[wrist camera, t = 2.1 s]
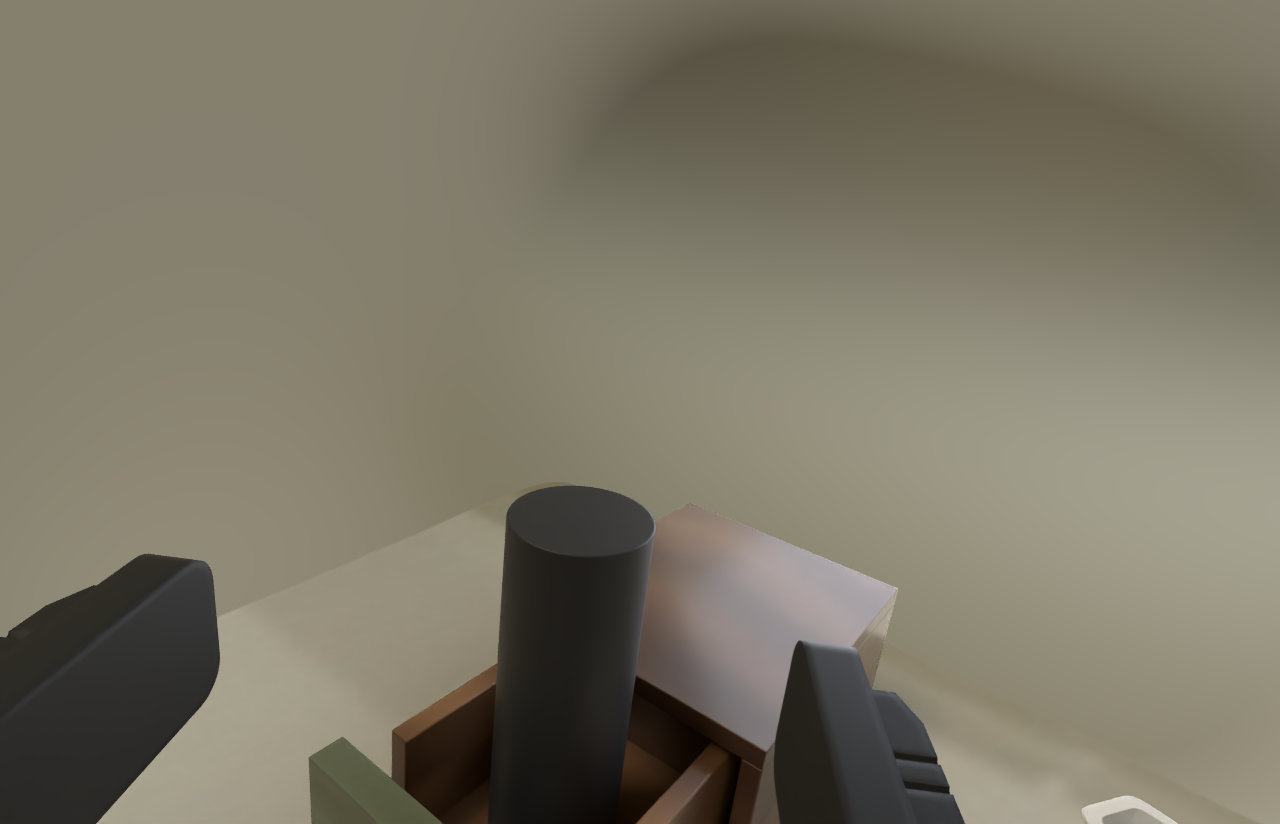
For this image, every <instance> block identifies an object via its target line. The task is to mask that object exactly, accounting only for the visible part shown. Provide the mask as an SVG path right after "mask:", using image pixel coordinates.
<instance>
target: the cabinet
mask: <svg viewBox="0 0 1280 824" xmlns="http://www.w3.org/2000/svg"><path fill="white" fill-rule="evenodd" d="M655 527H656V530H655V537H654V544H653V552H652V559H651V566H650V574H649V581H648V588H647V596H646V603H645V610H644V618H643V625H642V632H641V640H640V647H639V654H638V662H637V669H636V676H635V684H634V691H633V693H634V694H636V695H637V696H639V697H641V698H642V699H644V700H646V701H647V702H649V703H651V704H652V705H654V706H656V707H657V708H659V709H661V710H662V711H664V712H666V713H667V714H669V715H671V716H672V717H674V718H676V719H677V720H679V721H681V722H682V723H684V724H686V725H687V726H689V727H691V728H692V729H694V730H696V731H697V732H699V733H700V734H702V735H704V736H705V737H707V738H709V739H710V740H712V741H714V742H715V743H717V744H719V745H720V746H722V747H724V748H725V749H727V750H729V751H730V752H732V753H734V754H735V755H737V756H739V757H740V758H742V761H741V765H740V770H739V775H738V780H737V785H736V790H735V795H734V800H733V805H732V810H731V815H730V820H729V824H780V820H779V812H778V805H777V798H776V791H775V782H774V748H775V739H776V732H777V727H778V722H779V718H780V713H781V708H782V703H783V699H784V694H785V689H786V684H787V679H788V675H789V670H790V665H791V660H792V656H793V652H794V648H795V646H796V644H797V642H798V641H799V640H800V641H808V642H816V643H824V644H831V645H839V646H847V647H854V648H856V649H857V651H858V653H859V655H860V658H861V661H862V664H863V667H864V670H865V673H866V676H867V678H868V681H869V684H870V687H871V690H872V686H873V682H874V678H875V675H876V671H877V667H878V663H879V659H880V656H881V652H882V648H883V644H884V641H885V637H886V633H887V629H888V626H889V622H890V618H891V614H892V610H893V607H894V603H895V599H896V596H897V592H898V588H895V587H893V586H891V585H888V584H886V583H883V582H881V581H878V580H876V579H874V578H871V577H869V576H866V575H864V574H861V573H859V572H857V571H854V570H852V569H849V568H847V567H845V566H842V565H840V564H837V563H835V562H832V561H830V560H828V559H825V558H822V557H820V556H818V555H815V554H813V553H811V552H808V551H806V550H803V549H801V548H798V547H796V546H794V545H791V544H789V543H786V542H784V541H781V540H779V539H777V538H774V537H772V536H770V535H767V534H765V533H762V532H760V531H757V530H755V529H753V528H750V527H748V526H745V525H743V524H740V523H738V522H735V521H733V520H731V519H728V518H726V517H724V516H721V515H718V514H716V513H714V512H711V511H709V510H706V509H704V508H702V507H699V506H697V505H694V504H692V503H689V504H687V505H685V506H684V507H682V508H680V509H678V510H676V511H675V512H673V513H671V514H669V515H668V516H666V517H664V518H662V519H660V520H659V521H657V522H655Z"/></svg>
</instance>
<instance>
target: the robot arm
mask: <svg viewBox="0 0 1280 824" xmlns="http://www.w3.org/2000/svg"><path fill="white" fill-rule="evenodd" d="M219 663H220V651H219V640H218V628H217V617H216V606H215V595H214V584H213V575H212V571H211V569H210V567H209V566H208V564H207V563H206V562H204V561H199V560H192V559H184V558H177V557H169V556H161V555H154V554H143V555H140V556H138V557H137V558H135V559H133V560H132V561H131V562H129V563H128V564H126V565H125V566H123V567H122V568H121V569H120V570H118V571H117V572H115V573H114V574H113V575H111V576H110V577H108V578H107V579H105V580H104V581H102V582H101V583H100V584H98V585H97V586H94V585H93V586H91V587H89V588H86V589H84V590H82V591H79V592H77V593H75V594H72V595H70V596H68V597H65V598H63V599H60V600H58V601H56V602H54V603H51V604H49V605H46V606H45V607H43V608H42V609H41V610H39V611H38V612H36V613H35V614H33V615H32V616H31V617H29V618H28V619H26V620H25V621H23V622H22V623H20V624H19V625H18V626H16V627H15V628H13V629H12V630H10V631H9V633H8V636H7V637H6V638H4V637H0V824H96V823H97V822H98V821H99V820H100V819H101V817H102V816H103V815H104V814H105V813H106V812H107V811H108V810H109V809H110V807H111V806H112V805H113V804H114V803H115V802H116V801H117V800H118V798H119V797H120V796H121V795H122V794H123V793H124V792H125V791H126V790H127V788H128V787H129V786H130V785H131V784H132V783H133V782H134V781H135V780H136V778H137V777H138V776H139V775H140V774H141V773H142V772H143V771H144V769H145V768H146V767H147V766H148V765H149V764H150V763H151V762H152V761H153V759H154V758H155V757H156V756H157V755H158V754H159V753H160V752H161V750H162V749H163V748H164V747H165V746H166V745H167V744H168V743H169V742H170V740H171V739H172V738H173V737H174V736H175V735H176V734H177V733H178V731H179V730H180V729H181V728H182V727H183V726H184V725H185V724H186V723H187V721H188V720H189V719H190V718H191V717H192V716H193V715H194V714H195V712H196V711H197V710H198V709H199V708H200V707H201V706H202V704H203V703H204V702H205V700H206V699H207V697H208V696H209V694H210V692H211V690H212V688H213V686H214V683H215V680H216V677H217V674H218V669H219ZM774 782H775V791H776V798H777V805H778V812H779V820H780V824H965V823H964V820H963V818H962V816H961V813H960V811H959V808H958V806H957V804H956V801H955V799H954V796H953V795H950V792H949V788H950V787H949V784H948V782H947V779H946V777H945V775H944V772H943V770H942V767H941V765H938V764H937V755H936V753H935V751H934V748H933V746H932V743H931V741H930V739H929V736H928V734H927V731H926V729H925V727H924V724H923V723H922V722H921V721H920V720H919V718H918V717H917V716H916V715H915V714H914V713H913V712H912V711H911V710H910V709H909V707H908V706H907V705H906V704H905V703H904V702H903V701H902V700H901V699H900V698H899V696H898V695H897V694H896V693H893V692H886V691H878V690H871V687H870V684H869V681H868V678H867V676H866V673H865V670H864V667H863V664H862V661H861V658H860V655H859V653H858V651H857V649H856V648H854V647H847V646H839V645H831V644H824V643H816V642H808V641H800V640H799V641H798V642H797V644H796V646H795V648H794V652H793V656H792V660H791V665H790V670H789V675H788V679H787V684H786V689H785V694H784V699H783V703H782V708H781V713H780V718H779V722H778V727H777V732H776V739H775V748H774Z"/></svg>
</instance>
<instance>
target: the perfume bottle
mask: <svg viewBox="0 0 1280 824" xmlns="http://www.w3.org/2000/svg"><path fill="white" fill-rule="evenodd" d="M1081 814H1082V817H1083V819H1084V821H1085V823H1086V824H1178V823H1177V822H1175V821H1173V820H1172V819H1170V818H1169V817H1167V816H1166V815H1164V814H1163V813H1161V812H1159V811H1158V810H1156V809H1155V808H1153V807H1152V806H1150V805H1149V804H1147V803H1145V802H1144V801H1142V800H1140V799H1138V798H1136V797H1132V796H1121V797H1118V798H1114V799H1110V800H1107V801H1103V802H1099V803H1096V804H1092V805H1088V806H1086V807H1085V808H1083V809H1082V813H1081Z"/></svg>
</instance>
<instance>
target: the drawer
mask: <svg viewBox="0 0 1280 824" xmlns="http://www.w3.org/2000/svg"><path fill="white" fill-rule="evenodd" d="M496 678H497V664H496V665H494V666H492V667H491V668H489V669H488V670H486V671H485V672H483V673H481V674H480V675H478V676H477V677H475V678H474V679H472V680H470V681H469V682H467V683H466V684H464V685H463V686H461V687H459V688H458V689H456V690H455V691H453V692H452V693H450V694H448V695H447V696H445V697H444V698H442V699H441V700H439V701H437V702H436V703H434V704H433V705H431V706H430V707H428V708H426V709H425V710H423V711H422V712H420V713H419V714H417V715H415V716H414V717H412V718H411V719H409V720H408V721H406V722H404V723H403V724H401V725H400V726H398V727H397V728H395V729H394V730H393V731H392V779H391V778H390V777H389V776H388V775H386V774H385V773H384V772H383V771H382V770H381V769H380V768H378V767H377V766H376V765H375V764H374V763H373V762H371V761H370V760H369V759H368V758H367V757H366V756H364V755H363V754H362V753H361V752H360V751H359V750H358V749H356V748H355V747H354V746H353V745H352V744H351V743H349V742H348V741H347V740H346V739H345V738H344V737H341V738H340V739H338V740H336V741H335V742H333V743H331V744H330V745H328V746H326V747H325V748H323V749H322V750H320V751H318V752H317V753H315V754H313V755H312V756H310V757H309V775H310V799H311V824H488V808H489V791H490V775H491V759H492V743H493V727H494V711H495V694H496ZM741 761H742V758H740V757H739V756H737V755H735V754H734V753H732V752H730V751H729V750H727V749H725V748H724V747H722V746H720V745H719V744H717V743H715V742H714V741H712V740H710V739H709V738H707V737H705V736H704V735H702V734H700V733H699V732H697V731H696V730H694V729H692V728H691V727H689V726H687V725H686V724H684V723H682V722H681V721H679V720H677V719H676V718H674V717H672V716H671V715H669V714H667V713H666V712H664V711H662V710H661V709H659V708H657V707H656V706H654V705H652V704H651V703H649V702H647V701H646V700H644V699H642V698H641V697H639V696H637V695H636V694H634V693H633V698H632V706H631V713H630V720H629V727H628V735H627V742H626V749H625V757H624V764H623V771H622V779H621V786H620V793H619V801H618V808H617V815H616V823H615V824H729V820H730V815H731V810H732V805H733V800H734V795H735V790H736V785H737V780H738V775H739V770H740V765H741Z"/></svg>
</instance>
